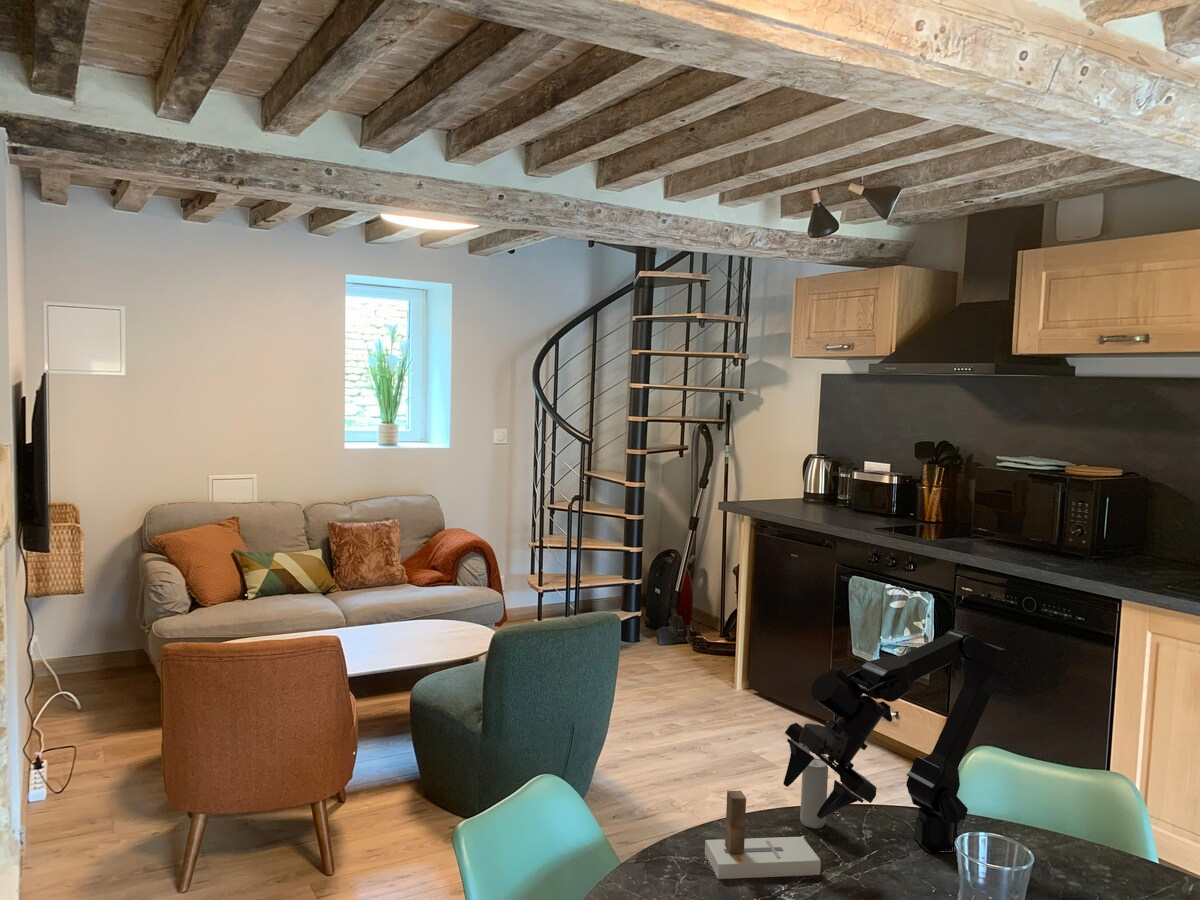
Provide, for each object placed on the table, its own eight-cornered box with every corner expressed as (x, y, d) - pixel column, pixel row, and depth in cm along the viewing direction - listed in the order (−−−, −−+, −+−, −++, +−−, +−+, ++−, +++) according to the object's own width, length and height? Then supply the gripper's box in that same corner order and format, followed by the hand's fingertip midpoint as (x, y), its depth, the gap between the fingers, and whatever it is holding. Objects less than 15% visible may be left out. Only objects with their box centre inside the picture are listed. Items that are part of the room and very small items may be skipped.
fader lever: (738, 844, 157) (741, 790, 157) (743, 853, 154) (746, 797, 154) (724, 845, 157) (727, 790, 156) (729, 853, 154) (732, 798, 153)
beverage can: (823, 819, 175) (826, 758, 174) (827, 830, 170) (830, 768, 169) (798, 817, 175) (801, 756, 175) (801, 828, 170) (804, 766, 170)
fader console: (801, 850, 162) (802, 835, 162) (820, 874, 153) (820, 859, 153) (704, 853, 159) (705, 839, 159) (717, 879, 151) (718, 863, 150)
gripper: (793, 683, 161) (743, 754, 160) (865, 739, 145) (810, 819, 144) (827, 707, 167) (778, 776, 166) (900, 764, 151) (847, 840, 150)
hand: (801, 801), depth 156 cm, fingers open, 9 cm apart
